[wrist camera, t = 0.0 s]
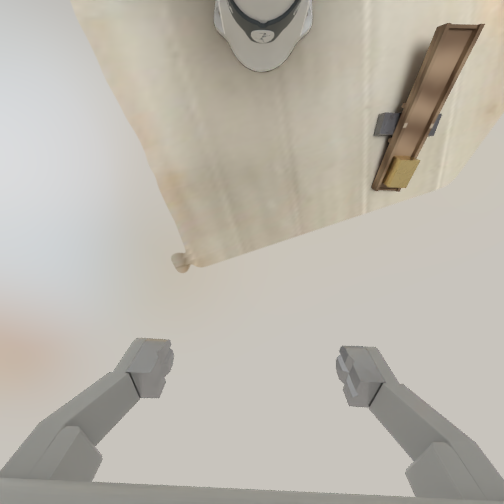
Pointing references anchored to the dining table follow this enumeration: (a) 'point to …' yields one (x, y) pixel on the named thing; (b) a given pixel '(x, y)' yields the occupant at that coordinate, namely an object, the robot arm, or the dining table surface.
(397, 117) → the fulcrum
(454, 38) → the beam
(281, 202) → the dining table surface
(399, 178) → the rider
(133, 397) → the robot arm
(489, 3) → the dining table surface
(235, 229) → the dining table surface
